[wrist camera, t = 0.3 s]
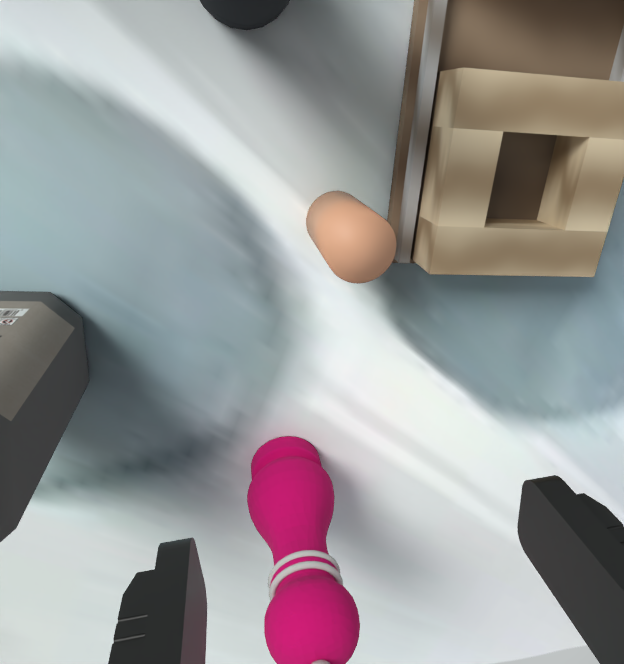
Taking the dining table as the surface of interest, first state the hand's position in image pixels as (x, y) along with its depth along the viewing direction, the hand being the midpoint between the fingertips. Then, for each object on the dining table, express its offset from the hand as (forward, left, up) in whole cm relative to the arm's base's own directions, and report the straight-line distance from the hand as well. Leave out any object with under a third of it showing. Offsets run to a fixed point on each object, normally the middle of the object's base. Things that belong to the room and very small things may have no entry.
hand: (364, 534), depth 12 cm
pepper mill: (+20, +2, -29) cm, 35 cm away
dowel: (-2, +5, -28) cm, 29 cm away
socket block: (-6, +17, -27) cm, 32 cm away
